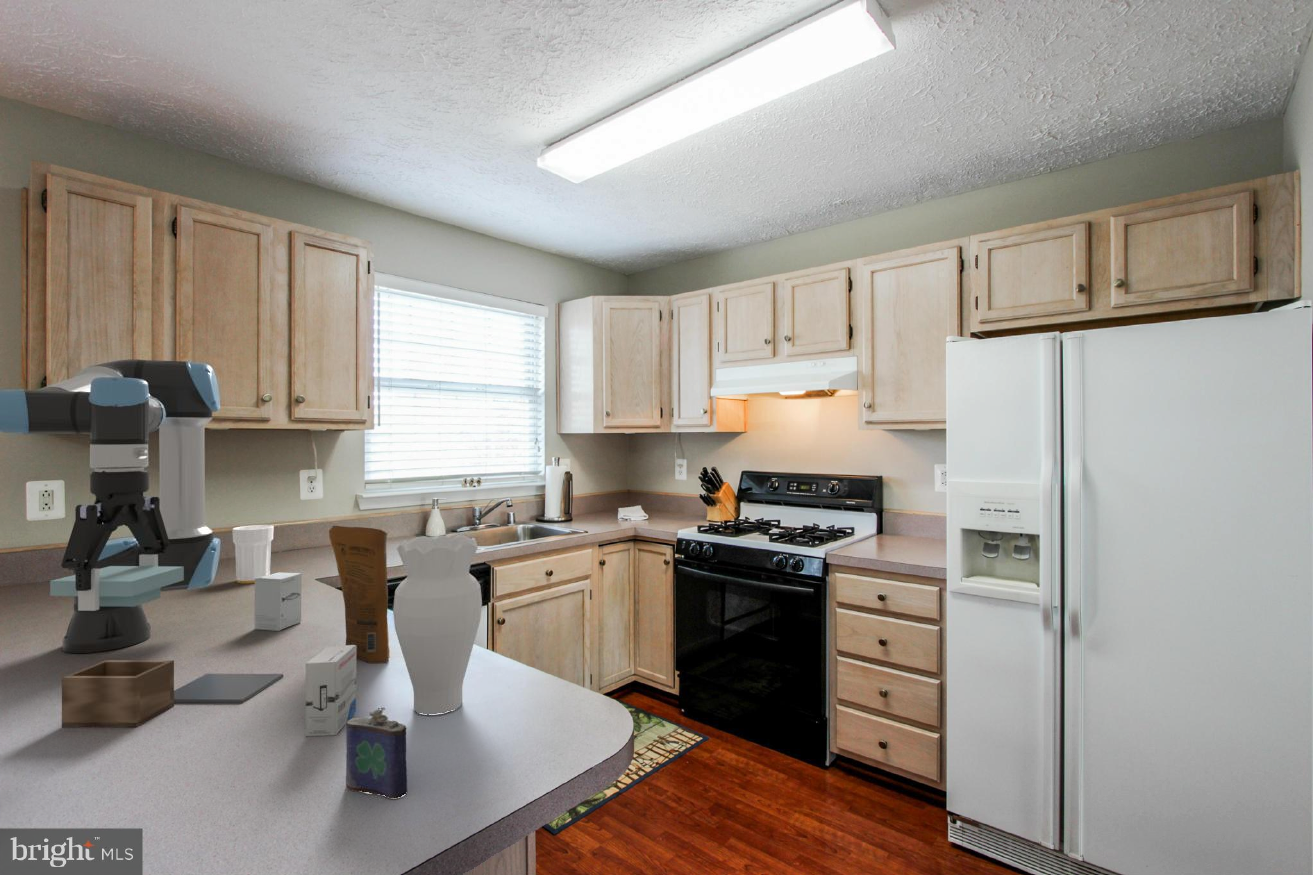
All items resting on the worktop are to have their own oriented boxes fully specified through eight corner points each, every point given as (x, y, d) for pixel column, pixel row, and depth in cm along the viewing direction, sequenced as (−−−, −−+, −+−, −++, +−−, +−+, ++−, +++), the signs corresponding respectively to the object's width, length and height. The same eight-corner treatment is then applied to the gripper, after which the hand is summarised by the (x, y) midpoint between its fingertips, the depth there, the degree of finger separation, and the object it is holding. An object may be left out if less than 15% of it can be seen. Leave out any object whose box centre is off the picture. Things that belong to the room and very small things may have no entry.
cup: (280, 579, 207) (280, 526, 207) (242, 586, 197) (242, 530, 197) (262, 575, 213) (263, 523, 213) (225, 581, 203) (225, 527, 203)
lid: (50, 610, 100) (50, 580, 100) (110, 593, 111) (110, 566, 111) (131, 611, 100) (131, 581, 100) (183, 593, 111) (183, 566, 111)
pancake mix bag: (371, 670, 127) (371, 531, 126) (325, 651, 138) (325, 523, 138) (402, 660, 132) (402, 527, 132) (355, 642, 143) (355, 520, 143)
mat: (157, 702, 111) (157, 699, 111) (206, 676, 123) (206, 673, 123) (242, 702, 111) (242, 699, 111) (283, 676, 123) (283, 673, 123)
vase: (414, 688, 117) (414, 533, 117) (492, 689, 117) (492, 533, 117) (376, 724, 103) (377, 547, 103) (465, 726, 102) (466, 547, 102)
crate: (61, 727, 102) (61, 677, 102) (105, 705, 110) (105, 660, 110) (135, 727, 102) (135, 678, 102) (173, 706, 110) (174, 660, 110)
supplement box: (279, 631, 152) (279, 579, 152) (253, 629, 153) (253, 577, 153) (302, 622, 159) (302, 572, 159) (277, 620, 160) (277, 571, 160)
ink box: (327, 713, 107) (327, 644, 107) (357, 712, 107) (357, 643, 107) (303, 737, 98) (303, 662, 98) (336, 736, 99) (336, 661, 99)
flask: (341, 789, 84) (341, 709, 84) (357, 778, 87) (358, 700, 87) (398, 802, 81) (399, 718, 81) (413, 789, 84) (414, 709, 84)
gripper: (77, 474, 94) (78, 621, 94) (194, 466, 117) (194, 583, 117) (27, 474, 94) (28, 620, 94) (154, 465, 117) (154, 583, 117)
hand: (120, 600), depth 106 cm, fingers closed on lid, 11 cm apart
